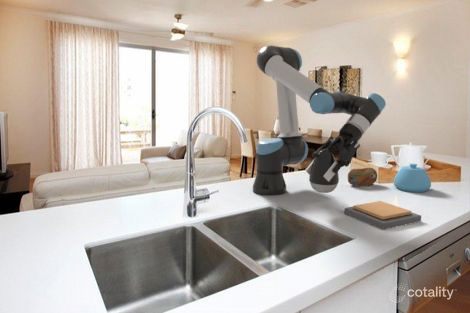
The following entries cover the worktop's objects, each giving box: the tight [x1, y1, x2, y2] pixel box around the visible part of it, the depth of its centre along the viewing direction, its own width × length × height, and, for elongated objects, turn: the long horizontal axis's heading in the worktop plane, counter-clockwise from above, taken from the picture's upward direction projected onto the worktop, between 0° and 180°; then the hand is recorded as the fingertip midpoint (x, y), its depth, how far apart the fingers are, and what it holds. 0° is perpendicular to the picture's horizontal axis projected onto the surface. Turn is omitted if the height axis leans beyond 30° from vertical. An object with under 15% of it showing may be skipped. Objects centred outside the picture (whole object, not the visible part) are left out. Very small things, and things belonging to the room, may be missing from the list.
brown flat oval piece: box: [347, 167, 378, 187], centre depth 155 cm, size 15×3×8 cm, turn 105°
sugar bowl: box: [393, 163, 432, 193], centre depth 147 cm, size 15×15×12 cm
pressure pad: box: [352, 200, 412, 220], centre depth 111 cm, size 13×13×1 cm
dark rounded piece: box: [308, 149, 340, 194], centre depth 116 cm, size 10×10×15 cm
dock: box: [343, 206, 422, 230], centre depth 111 cm, size 17×17×2 cm
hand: (316, 175), depth 115 cm, fingers closed on dark rounded piece, 9 cm apart
